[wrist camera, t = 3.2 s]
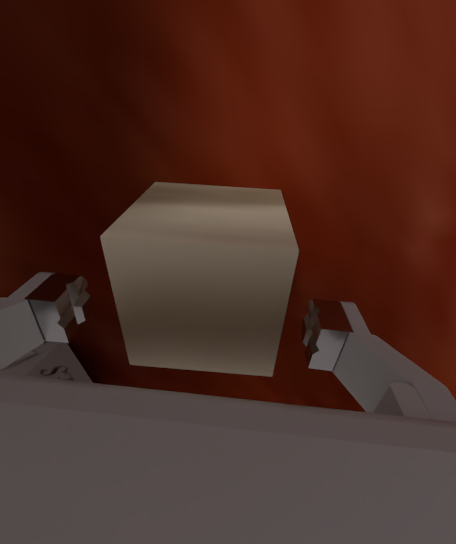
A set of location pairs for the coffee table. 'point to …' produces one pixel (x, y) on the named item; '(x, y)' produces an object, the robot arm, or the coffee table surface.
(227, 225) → the birch block
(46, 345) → the die
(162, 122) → the coffee table surface
